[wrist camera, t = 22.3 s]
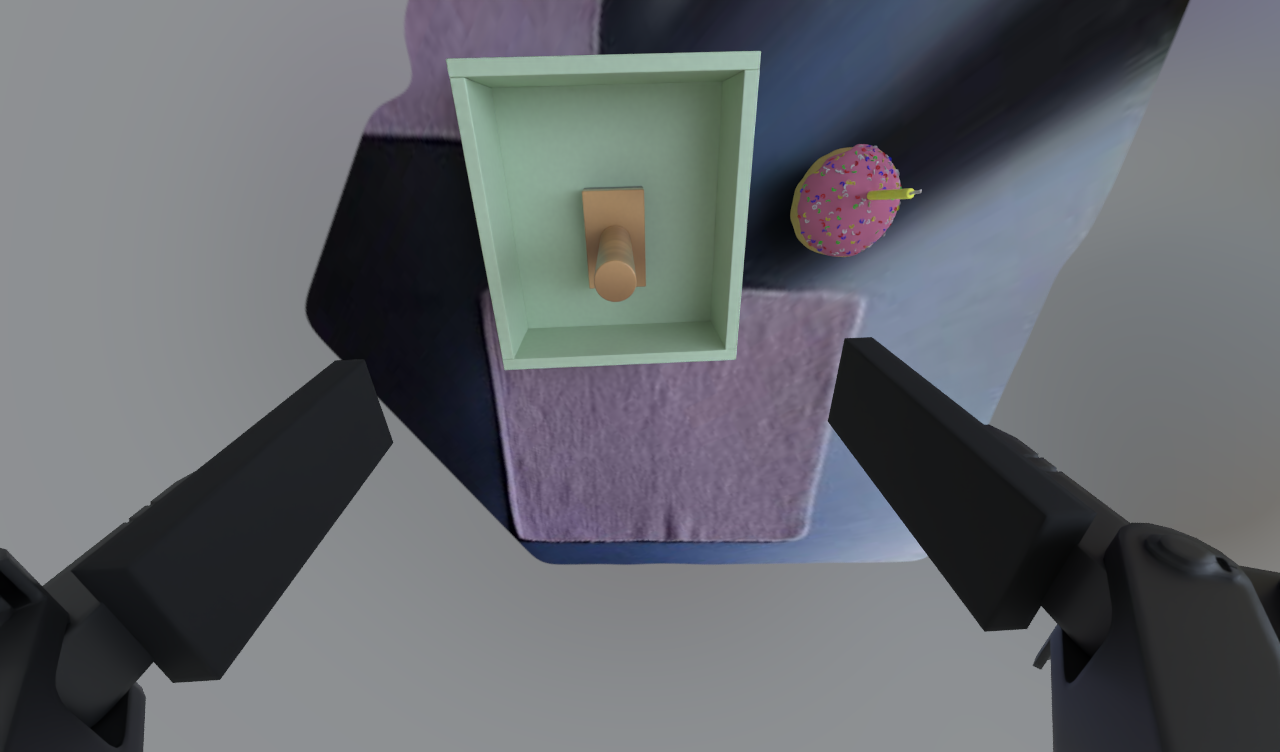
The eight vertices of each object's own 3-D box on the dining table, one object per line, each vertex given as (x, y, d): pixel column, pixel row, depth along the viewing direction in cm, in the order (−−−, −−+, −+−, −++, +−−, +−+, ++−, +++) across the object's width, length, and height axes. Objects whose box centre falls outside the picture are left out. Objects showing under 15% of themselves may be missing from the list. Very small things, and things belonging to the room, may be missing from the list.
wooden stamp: (584, 187, 38) (567, 213, 25) (642, 185, 39) (655, 210, 25) (591, 279, 42) (579, 344, 29) (644, 277, 42) (656, 340, 29)
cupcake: (822, 123, 38) (902, 117, 27) (890, 182, 40) (988, 198, 30) (757, 213, 41) (806, 239, 31) (824, 263, 44) (891, 303, 33)
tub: (479, 74, 35) (445, 58, 28) (732, 67, 36) (761, 50, 29) (521, 334, 46) (504, 370, 38) (717, 325, 46) (736, 359, 39)
